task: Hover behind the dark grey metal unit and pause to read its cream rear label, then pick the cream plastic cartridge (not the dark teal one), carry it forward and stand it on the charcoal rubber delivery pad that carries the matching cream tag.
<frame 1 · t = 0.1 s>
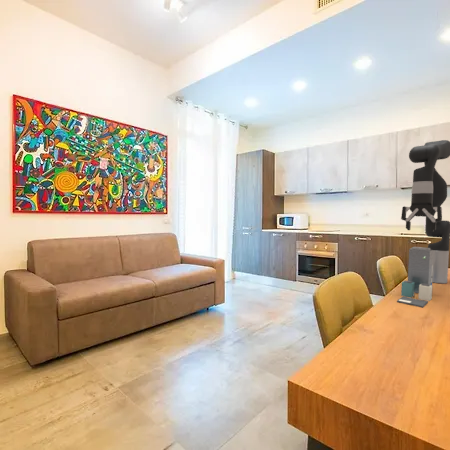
hand: (420, 230, 123), 29 cm above the table, fingers open, 8 cm apart
unit: (418, 292, 134), on the table
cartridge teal: (407, 295, 128), on the table
pad: (412, 302, 118), on the table
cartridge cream: (425, 299, 123), on the table
ink box: (420, 286, 145), on the table
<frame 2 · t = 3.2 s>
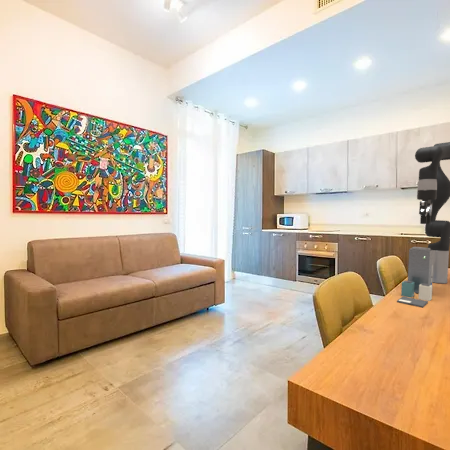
hand: (425, 223, 137), 32 cm above the table, fingers open, 8 cm apart
nothing on the table moved.
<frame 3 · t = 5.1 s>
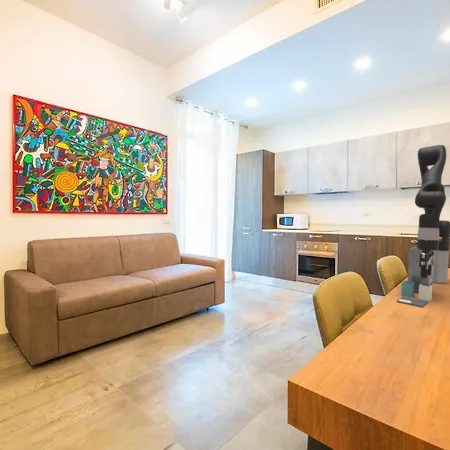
hand: (425, 276, 123), 10 cm above the table, fingers open, 8 cm apart
nothing on the table moved.
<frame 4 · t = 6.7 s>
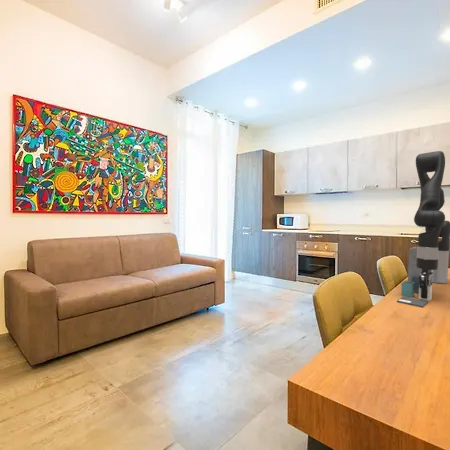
hand: (425, 296, 123), 1 cm above the table, fingers closed on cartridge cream, 4 cm apart
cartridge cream: (425, 298, 123), on the table, touching gripper
everything else where it was.
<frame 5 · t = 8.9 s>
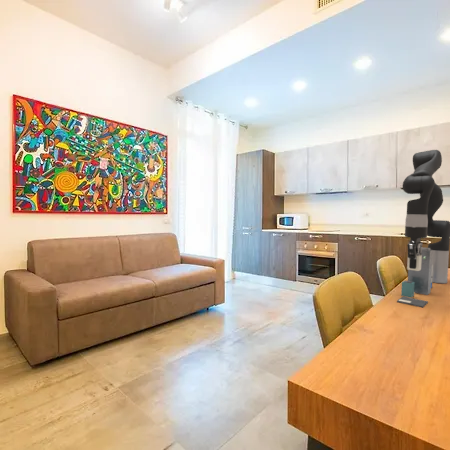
hand: (414, 267, 117), 14 cm above the table, fingers closed on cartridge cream, 4 cm apart
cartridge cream: (414, 269, 117), point 14 cm above the table, touching gripper
everything else where it was.
when the fingers open (2 cm above the table, at t = 11.4 s): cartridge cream stays where it is, resting on pad.
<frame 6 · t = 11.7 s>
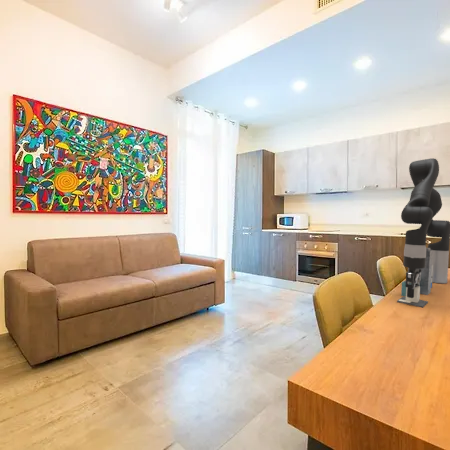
hand: (412, 295, 118), 3 cm above the table, fingers open, 7 cm apart
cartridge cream: (412, 300, 118), point 1 cm above the table, touching pad
everything else where it was.
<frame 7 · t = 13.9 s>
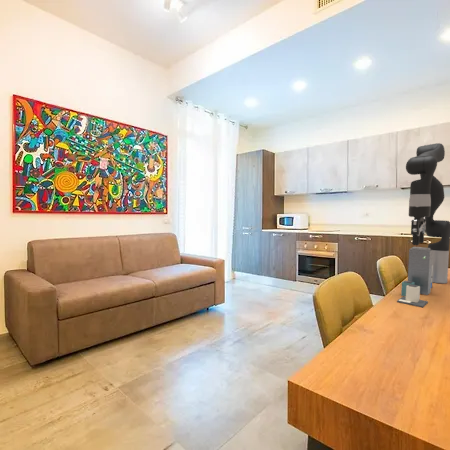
hand: (418, 243, 121), 24 cm above the table, fingers open, 8 cm apart
nothing on the table moved.
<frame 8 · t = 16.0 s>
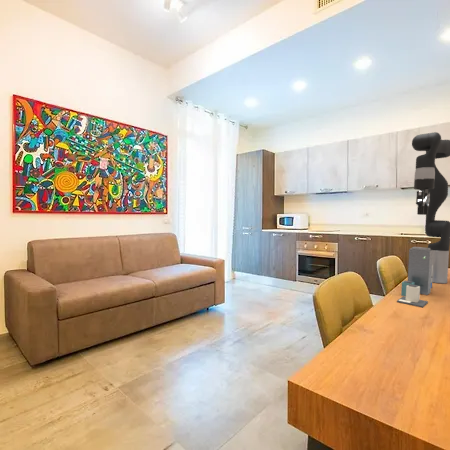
hand: (422, 214, 130), 36 cm above the table, fingers open, 8 cm apart
nothing on the table moved.
at the end: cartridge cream inside the target area on the pad (0.1 cm from its centre), point 0.7 cm above the pad's base; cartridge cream tilted 2°; the gripper is holding nothing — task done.
